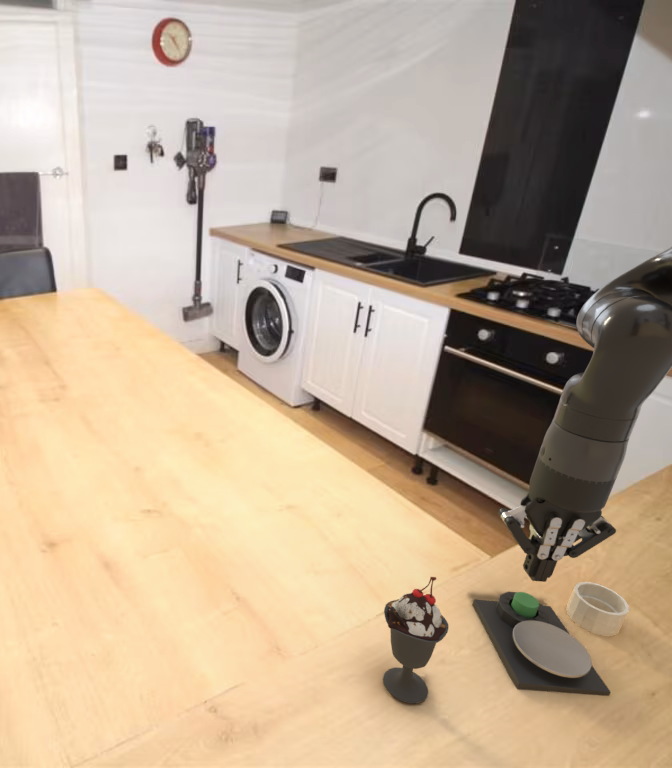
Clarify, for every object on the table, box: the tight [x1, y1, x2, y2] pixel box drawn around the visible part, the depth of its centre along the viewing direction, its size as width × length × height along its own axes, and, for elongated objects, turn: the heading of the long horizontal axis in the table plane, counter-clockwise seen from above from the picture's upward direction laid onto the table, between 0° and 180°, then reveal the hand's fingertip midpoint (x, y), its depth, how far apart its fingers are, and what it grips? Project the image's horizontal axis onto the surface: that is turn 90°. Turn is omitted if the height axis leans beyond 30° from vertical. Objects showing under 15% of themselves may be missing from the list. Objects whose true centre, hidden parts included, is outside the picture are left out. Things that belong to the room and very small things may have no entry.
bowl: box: [565, 581, 631, 637], centre depth 73 cm, size 6×6×4 cm
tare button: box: [511, 591, 540, 618], centre depth 72 cm, size 3×3×2 cm
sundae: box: [382, 576, 449, 704], centre depth 62 cm, size 7×7×15 cm
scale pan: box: [512, 620, 593, 678], centre depth 66 cm, size 8×8×1 cm
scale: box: [472, 591, 611, 697], centre depth 69 cm, size 10×13×3 cm
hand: (535, 576), depth 70 cm, fingers closed
